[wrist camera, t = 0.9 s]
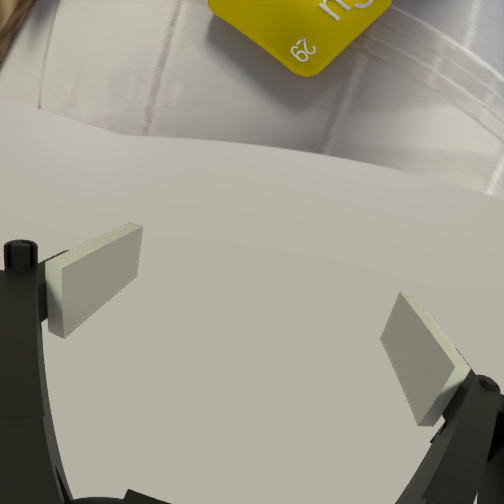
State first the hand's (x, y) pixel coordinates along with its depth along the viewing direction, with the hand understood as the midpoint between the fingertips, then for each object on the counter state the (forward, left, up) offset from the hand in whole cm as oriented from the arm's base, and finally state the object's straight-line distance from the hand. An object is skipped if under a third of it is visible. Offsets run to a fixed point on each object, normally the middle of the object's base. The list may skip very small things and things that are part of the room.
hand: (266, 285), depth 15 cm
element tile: (-12, -15, -26) cm, 33 cm away
